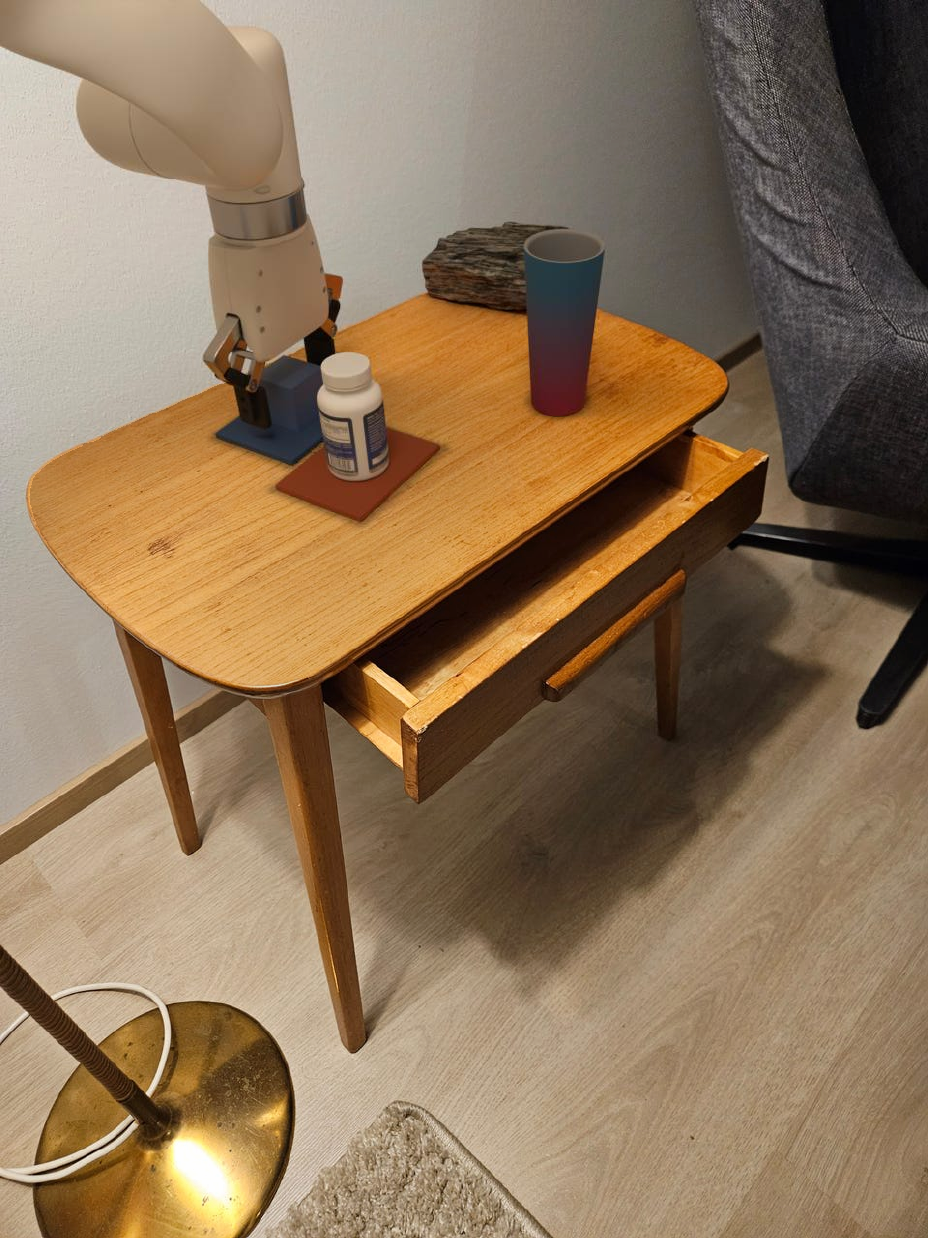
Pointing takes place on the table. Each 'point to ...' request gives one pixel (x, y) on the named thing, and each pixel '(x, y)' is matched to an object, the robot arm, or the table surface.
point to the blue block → (292, 392)
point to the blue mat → (273, 439)
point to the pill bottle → (352, 418)
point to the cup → (561, 315)
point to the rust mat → (358, 496)
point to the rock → (482, 265)
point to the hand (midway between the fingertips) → (291, 398)
